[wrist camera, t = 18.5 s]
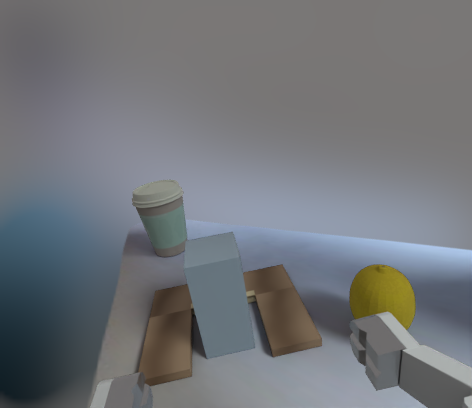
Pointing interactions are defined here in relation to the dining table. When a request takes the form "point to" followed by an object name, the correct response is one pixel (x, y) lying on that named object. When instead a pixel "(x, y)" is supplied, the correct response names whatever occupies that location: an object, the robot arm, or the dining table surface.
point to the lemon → (382, 294)
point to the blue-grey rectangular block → (218, 294)
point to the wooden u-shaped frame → (181, 314)
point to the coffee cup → (162, 215)
